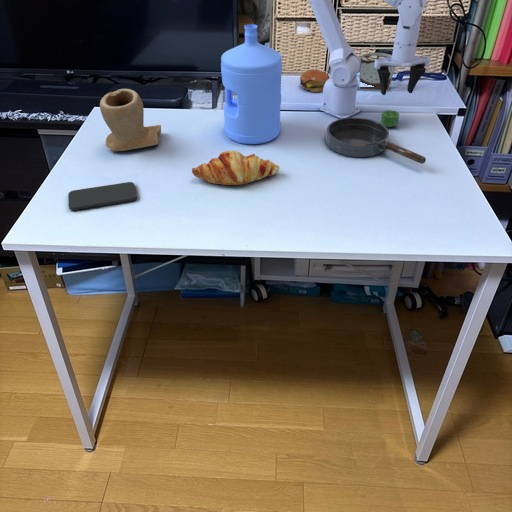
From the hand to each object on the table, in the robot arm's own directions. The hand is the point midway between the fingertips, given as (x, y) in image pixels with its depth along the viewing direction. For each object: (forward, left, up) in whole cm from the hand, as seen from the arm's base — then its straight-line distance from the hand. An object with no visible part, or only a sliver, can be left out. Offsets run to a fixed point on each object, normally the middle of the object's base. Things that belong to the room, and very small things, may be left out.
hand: (396, 92), depth 137 cm
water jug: (-23, -34, -9) cm, 42 cm away
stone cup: (-39, -62, -9) cm, 73 cm away
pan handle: (+16, -18, -7) cm, 24 cm away
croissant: (-8, -53, -9) cm, 54 cm away
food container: (-19, +16, -9) cm, 26 cm away
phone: (-23, -81, -8) cm, 84 cm away
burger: (-32, +2, -9) cm, 33 cm away
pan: (+1, -18, -8) cm, 20 cm away
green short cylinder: (+1, -3, -8) cm, 9 cm away
